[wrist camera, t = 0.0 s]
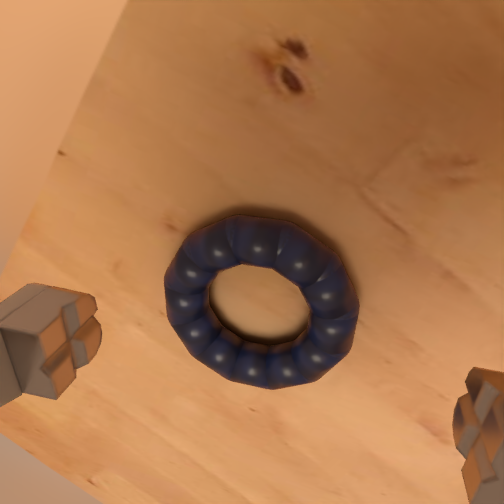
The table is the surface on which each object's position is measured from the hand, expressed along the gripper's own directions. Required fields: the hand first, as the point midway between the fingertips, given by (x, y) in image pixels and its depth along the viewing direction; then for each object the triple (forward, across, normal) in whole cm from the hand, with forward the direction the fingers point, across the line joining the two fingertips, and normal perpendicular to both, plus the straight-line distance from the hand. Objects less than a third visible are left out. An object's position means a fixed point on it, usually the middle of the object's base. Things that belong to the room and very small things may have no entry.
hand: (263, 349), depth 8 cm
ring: (+14, +3, +10) cm, 18 cm away
